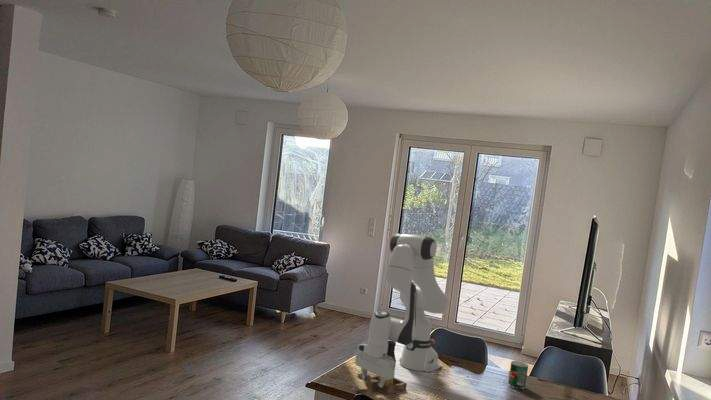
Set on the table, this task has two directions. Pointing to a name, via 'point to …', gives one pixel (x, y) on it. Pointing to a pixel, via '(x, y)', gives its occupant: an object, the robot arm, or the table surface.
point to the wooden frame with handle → (394, 388)
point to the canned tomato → (518, 374)
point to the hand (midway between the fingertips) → (372, 382)
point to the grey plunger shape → (361, 375)
